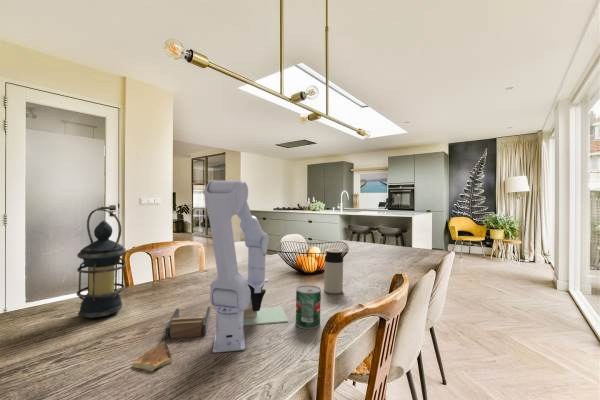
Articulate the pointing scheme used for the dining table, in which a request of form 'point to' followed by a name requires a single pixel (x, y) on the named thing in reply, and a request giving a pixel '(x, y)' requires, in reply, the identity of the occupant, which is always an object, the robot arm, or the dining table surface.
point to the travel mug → (333, 271)
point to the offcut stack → (186, 326)
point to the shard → (154, 358)
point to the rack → (176, 315)
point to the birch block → (249, 311)
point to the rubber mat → (267, 316)
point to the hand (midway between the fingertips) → (255, 307)
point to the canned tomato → (308, 306)
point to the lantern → (101, 272)
